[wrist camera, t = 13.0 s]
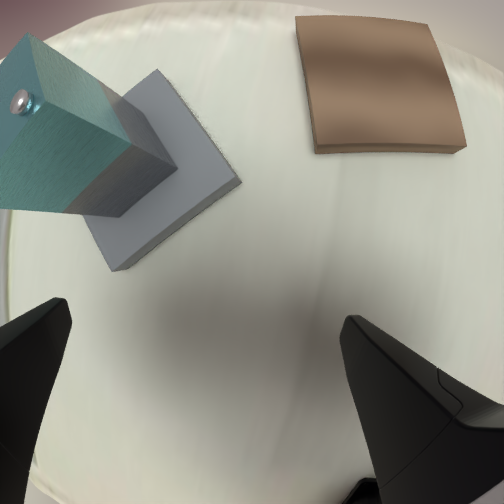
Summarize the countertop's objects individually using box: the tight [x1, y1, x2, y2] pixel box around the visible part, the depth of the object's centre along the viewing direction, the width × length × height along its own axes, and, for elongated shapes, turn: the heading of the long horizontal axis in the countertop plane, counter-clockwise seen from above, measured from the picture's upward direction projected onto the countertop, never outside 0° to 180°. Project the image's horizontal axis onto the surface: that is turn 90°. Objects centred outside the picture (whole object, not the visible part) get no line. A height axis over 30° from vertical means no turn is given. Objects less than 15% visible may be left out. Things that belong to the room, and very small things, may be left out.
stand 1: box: [83, 69, 242, 272], centre depth 19 cm, size 10×10×2 cm
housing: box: [0, 32, 178, 218], centre depth 12 cm, size 5×5×11 cm
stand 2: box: [295, 15, 467, 154], centre depth 16 cm, size 10×10×2 cm
